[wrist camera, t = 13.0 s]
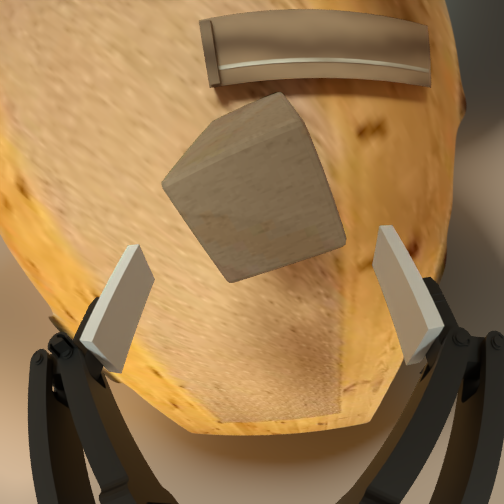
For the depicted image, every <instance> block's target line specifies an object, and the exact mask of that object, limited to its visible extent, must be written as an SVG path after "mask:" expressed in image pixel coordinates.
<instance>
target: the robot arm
mask: <svg viewBox="0 0 504 504" xmlns="http://www.w3.org/2000/svg"><path fill="white" fill-rule="evenodd" d="M372 266H373V268H374V271H375V274H376V276H377V279H378V281H379V284H380V286H381V289H382V292H383V295H384V297H385V300H386V303H387V306H388V308H389V311H390V314H391V317H392V320H393V323H394V326H395V329H396V332H397V336H398V339H399V342H400V345H401V349H402V352H403V355H404V359H405V362H406V365H410V364H414V363H419V362H421V361H422V359H423V358H424V357H425V355H426V358H427V364H426V365H425V366H424V368H423V369H422V371H421V372H420V374H421V377H420V379H419V381H418V383H417V385H416V387H415V389H414V391H413V393H412V395H411V397H410V399H409V401H408V403H407V405H406V407H405V409H404V410H403V413H402V414H401V416H400V418H399V419H398V421H397V423H396V425H395V426H394V428H393V430H392V431H391V433H390V435H389V436H388V438H387V439H386V441H385V442H384V444H383V446H382V447H381V449H380V450H379V452H378V453H377V455H376V456H375V457H374V459H373V460H372V462H371V463H370V465H369V466H368V467H367V469H366V470H365V471H364V473H363V474H362V475H361V477H360V478H359V479H358V481H357V482H356V483H355V485H354V486H353V487H352V488H351V489H350V490H349V491H348V492H347V493H346V494H345V495H344V496H343V497H342V498H341V499H340V500H339V501H338V502H337V503H336V504H400V503H401V501H402V499H403V498H404V497H405V495H406V494H407V492H408V491H409V489H410V487H411V486H412V484H413V483H414V481H415V480H416V478H417V476H418V475H419V473H420V471H421V470H422V468H423V466H424V465H425V463H426V461H427V459H428V457H429V455H430V453H431V452H432V450H433V448H434V446H435V444H436V442H437V440H438V438H439V436H440V434H441V431H442V429H443V427H444V425H445V423H446V420H447V418H448V416H449V413H450V411H451V408H452V406H453V403H454V401H455V398H456V396H457V393H458V396H457V402H456V409H455V415H454V420H453V425H452V430H451V435H450V439H449V443H448V447H447V451H446V455H445V459H444V462H443V466H442V469H441V472H440V475H439V478H438V481H437V484H436V487H435V490H434V492H433V495H432V498H431V500H430V503H429V504H488V502H489V499H490V496H491V493H492V489H493V486H494V482H495V478H496V474H497V470H498V466H499V461H500V457H501V451H502V445H503V440H504V336H503V335H502V334H501V333H500V332H498V331H491V332H489V333H488V334H487V336H486V337H485V338H484V337H474V336H471V335H470V334H469V333H468V331H466V330H465V329H464V328H461V327H459V326H458V324H457V322H456V320H455V318H454V316H453V313H452V311H451V309H450V307H449V305H448V303H447V301H446V299H445V297H444V295H443V294H442V291H441V289H440V288H439V285H438V284H437V283H436V282H435V281H434V280H433V279H432V278H431V277H426V278H422V277H421V275H420V273H419V271H418V269H417V268H416V266H415V264H414V262H413V260H412V258H411V257H410V255H409V253H408V251H407V249H406V248H405V246H404V244H403V242H402V241H401V239H400V237H399V236H398V234H397V232H396V231H395V229H394V227H393V226H392V225H383V226H379V231H378V237H377V243H376V248H375V253H374V259H373V264H372ZM154 280H155V279H154V277H153V274H152V272H151V270H150V268H149V266H148V264H147V261H146V259H145V257H144V255H143V252H142V250H141V248H140V245H139V244H137V245H128V246H127V248H126V250H125V251H124V253H123V255H122V257H121V258H120V260H119V262H118V264H117V266H116V267H115V269H114V271H113V273H112V275H111V277H110V278H109V280H108V282H107V284H106V286H105V288H104V290H103V292H102V294H101V296H100V297H96V298H95V299H94V300H93V302H92V303H91V304H90V305H89V307H88V309H87V311H86V314H85V315H84V317H83V320H82V321H81V324H80V326H79V328H78V330H77V332H76V334H75V336H74V339H73V341H72V339H71V338H70V337H69V336H68V335H67V334H66V333H65V332H59V333H56V334H55V335H54V336H53V337H52V338H51V339H50V341H49V343H48V350H49V351H50V352H51V353H52V354H49V353H47V351H46V350H44V349H39V350H38V351H36V352H35V353H34V354H33V356H32V358H31V362H30V373H29V387H28V434H29V447H30V448H29V449H30V459H31V468H32V474H33V481H34V487H35V492H36V497H37V502H38V504H95V500H94V496H93V493H92V489H91V485H90V481H89V477H88V472H87V468H86V463H85V458H84V452H85V454H86V457H87V459H88V461H89V464H90V466H91V468H92V471H93V473H94V475H95V477H96V479H97V481H98V483H99V485H100V488H101V493H100V495H99V501H100V503H101V504H178V502H177V501H176V500H175V498H174V497H173V496H172V495H171V494H170V493H169V492H168V491H167V490H166V489H164V488H163V487H162V486H161V485H160V483H159V482H158V480H157V478H156V477H155V475H154V474H153V472H152V470H151V469H150V467H149V465H148V464H147V462H146V460H145V459H144V457H143V455H142V453H141V452H140V450H139V448H138V446H137V444H136V443H135V441H134V439H133V437H132V435H131V433H130V431H129V429H128V427H127V425H126V423H125V421H124V419H123V417H122V415H121V413H120V410H119V408H118V406H117V404H116V401H115V399H114V397H113V394H112V392H111V389H110V387H109V385H108V382H107V380H106V377H105V374H104V373H103V372H102V368H103V366H104V367H105V368H106V369H107V370H108V371H109V372H115V373H122V370H123V367H124V364H125V361H126V357H127V354H128V351H129V348H130V345H131V342H132V339H133V337H134V334H135V331H136V328H137V325H138V322H139V320H140V317H141V314H142V311H143V309H144V306H145V303H146V301H147V298H148V296H149V293H150V290H151V288H152V285H153V283H154ZM52 386H53V387H54V392H53V391H52ZM83 449H84V452H83Z"/></svg>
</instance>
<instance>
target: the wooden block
mask: <svg viewBox="0 0 504 504" xmlns="http://www.w3.org/2000/svg"><path fill="white" fill-rule="evenodd" d="M162 187H163V189H164V191H165V192H166V194H167V195H168V197H169V198H170V200H171V201H172V203H173V204H174V206H175V207H176V209H177V210H178V212H179V213H180V215H181V216H182V218H183V219H184V221H185V222H186V224H187V225H188V226H189V228H190V229H191V231H192V232H193V234H194V235H195V237H196V238H197V239H198V241H199V242H200V244H201V245H202V247H203V248H204V249H205V251H206V252H207V254H208V255H209V257H210V258H211V259H212V261H213V262H214V264H215V265H216V266H217V268H218V269H219V271H220V272H221V273H222V275H223V276H224V278H225V279H226V280H227V281H228V282H229V283H234V282H237V281H240V280H243V279H247V278H250V277H253V276H256V275H259V274H262V273H265V272H268V271H271V270H275V269H278V268H281V267H284V266H287V265H290V264H293V263H296V262H299V261H302V260H305V259H308V258H311V257H314V256H317V255H320V254H323V253H326V252H329V251H332V250H334V249H337V248H340V247H343V246H344V245H345V244H346V235H345V232H344V229H343V225H342V222H341V219H340V216H339V213H338V210H337V207H336V204H335V201H334V198H333V195H332V192H331V189H330V187H329V184H328V181H327V178H326V175H325V173H324V170H323V167H322V165H321V162H320V159H319V157H318V154H317V152H316V149H315V147H314V144H313V142H312V139H311V137H310V134H309V132H308V130H307V127H306V125H305V123H304V121H303V120H302V118H301V117H300V116H299V114H298V113H297V112H296V110H295V109H294V108H293V106H292V105H291V104H290V102H289V101H288V100H287V98H286V97H285V96H284V95H283V94H282V93H281V92H277V93H274V94H272V95H269V96H267V97H264V98H262V99H260V100H257V101H255V102H253V103H250V104H248V105H246V106H243V107H241V108H239V109H237V110H235V111H232V112H230V113H228V114H226V115H224V116H222V117H220V118H218V119H216V120H214V121H212V122H211V123H210V124H209V126H208V127H207V128H206V129H205V130H204V131H203V132H202V133H201V135H200V136H199V137H198V138H197V139H196V140H195V142H194V143H193V144H192V145H191V146H190V147H189V149H188V150H187V151H186V152H185V153H184V155H183V156H182V157H181V158H180V159H179V161H178V162H177V163H176V164H175V166H174V167H173V168H172V169H171V171H170V172H169V173H168V174H167V176H166V177H165V178H164V180H163V181H162Z"/></svg>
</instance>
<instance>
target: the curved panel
mask: <svg viewBox="0 0 504 504" xmlns="http://www.w3.org/2000/svg"><path fill="white" fill-rule="evenodd" d="M199 25H200V31H201V38H202V44H203V50H204V56H205V62H206V68H207V74H208V80H209V86H210V88H212V87H218V86H224V85H231V84H238V83H246V82H255V81H265V80H277V79H294V78H352V79H368V80H380V81H390V82H398V83H406V84H413V85H419V86H425V87H430V88H431V63H430V46H429V35H428V26H426V25H423V24H419V23H415V22H411V21H406V20H402V19H397V18H392V17H386V16H381V15H374V14H367V13H359V12H350V11H338V10H319V9H288V10H269V11H257V12H247V13H239V14H232V15H226V16H220V17H214V18H209V19H204V20H199Z"/></svg>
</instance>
